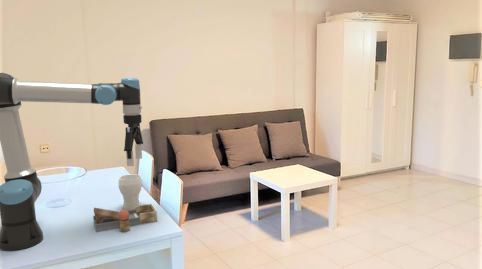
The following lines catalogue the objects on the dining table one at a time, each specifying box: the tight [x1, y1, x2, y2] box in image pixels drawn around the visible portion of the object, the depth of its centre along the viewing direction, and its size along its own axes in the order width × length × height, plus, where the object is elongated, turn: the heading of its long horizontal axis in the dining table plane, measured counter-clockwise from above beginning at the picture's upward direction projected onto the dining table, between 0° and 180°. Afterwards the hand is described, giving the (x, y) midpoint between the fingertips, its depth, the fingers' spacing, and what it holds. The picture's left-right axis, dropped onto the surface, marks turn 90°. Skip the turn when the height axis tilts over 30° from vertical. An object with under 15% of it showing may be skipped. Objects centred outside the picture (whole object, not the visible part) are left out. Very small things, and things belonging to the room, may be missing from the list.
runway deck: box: [92, 209, 142, 233], centre depth 171 cm, size 18×11×3 cm, turn 114°
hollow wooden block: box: [119, 219, 131, 233], centre depth 164 cm, size 3×3×5 cm
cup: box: [118, 173, 143, 210], centre depth 189 cm, size 11×11×15 cm
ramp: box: [93, 207, 129, 224], centre depth 170 cm, size 14×8×6 cm, turn 114°
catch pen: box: [136, 203, 158, 225], centre depth 176 cm, size 7×11×4 cm, turn 24°
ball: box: [118, 209, 129, 220], centre depth 163 cm, size 4×4×4 cm
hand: (134, 162), depth 176 cm, fingers open, 13 cm apart
